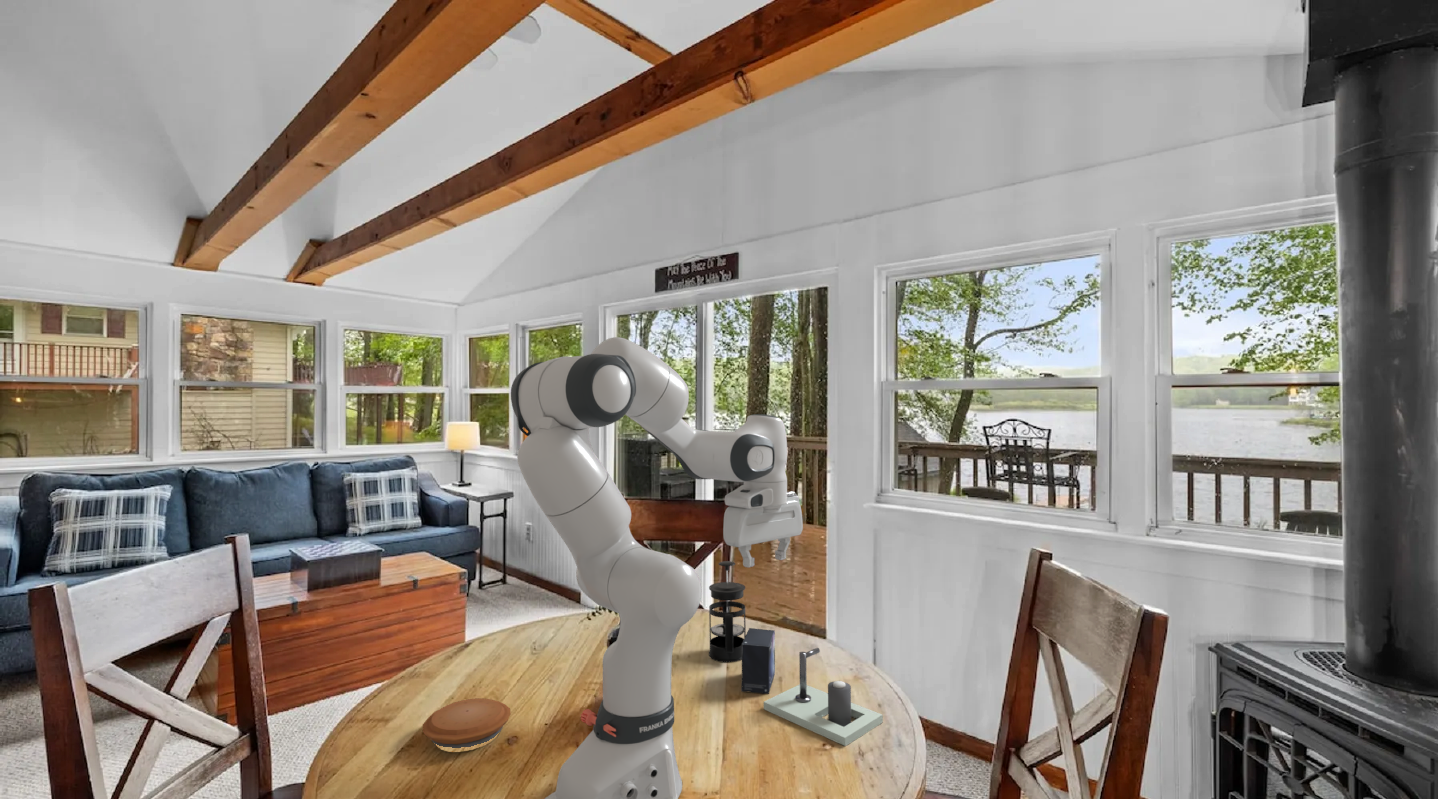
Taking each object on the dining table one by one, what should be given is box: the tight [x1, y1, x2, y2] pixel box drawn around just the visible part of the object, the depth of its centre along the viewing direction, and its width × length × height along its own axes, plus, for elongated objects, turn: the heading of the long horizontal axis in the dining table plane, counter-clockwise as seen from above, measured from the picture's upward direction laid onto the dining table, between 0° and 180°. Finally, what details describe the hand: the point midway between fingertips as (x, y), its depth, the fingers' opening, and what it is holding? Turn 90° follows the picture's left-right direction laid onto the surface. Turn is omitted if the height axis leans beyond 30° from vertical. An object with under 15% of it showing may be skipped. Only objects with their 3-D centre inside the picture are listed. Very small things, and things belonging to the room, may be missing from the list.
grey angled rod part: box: [795, 647, 821, 703], centre depth 134 cm, size 7×3×10 cm, turn 134°
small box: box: [740, 627, 776, 695], centre depth 144 cm, size 11×6×10 cm, turn 168°
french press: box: [708, 560, 747, 663], centre depth 160 cm, size 12×9×23 cm
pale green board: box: [763, 683, 884, 747], centre depth 129 cm, size 12×20×2 cm, turn 44°
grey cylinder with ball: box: [827, 680, 852, 727], centre depth 126 cm, size 4×4×8 cm
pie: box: [421, 697, 512, 748], centre depth 122 cm, size 15×16×5 cm
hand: (765, 562), depth 131 cm, fingers open, 8 cm apart
